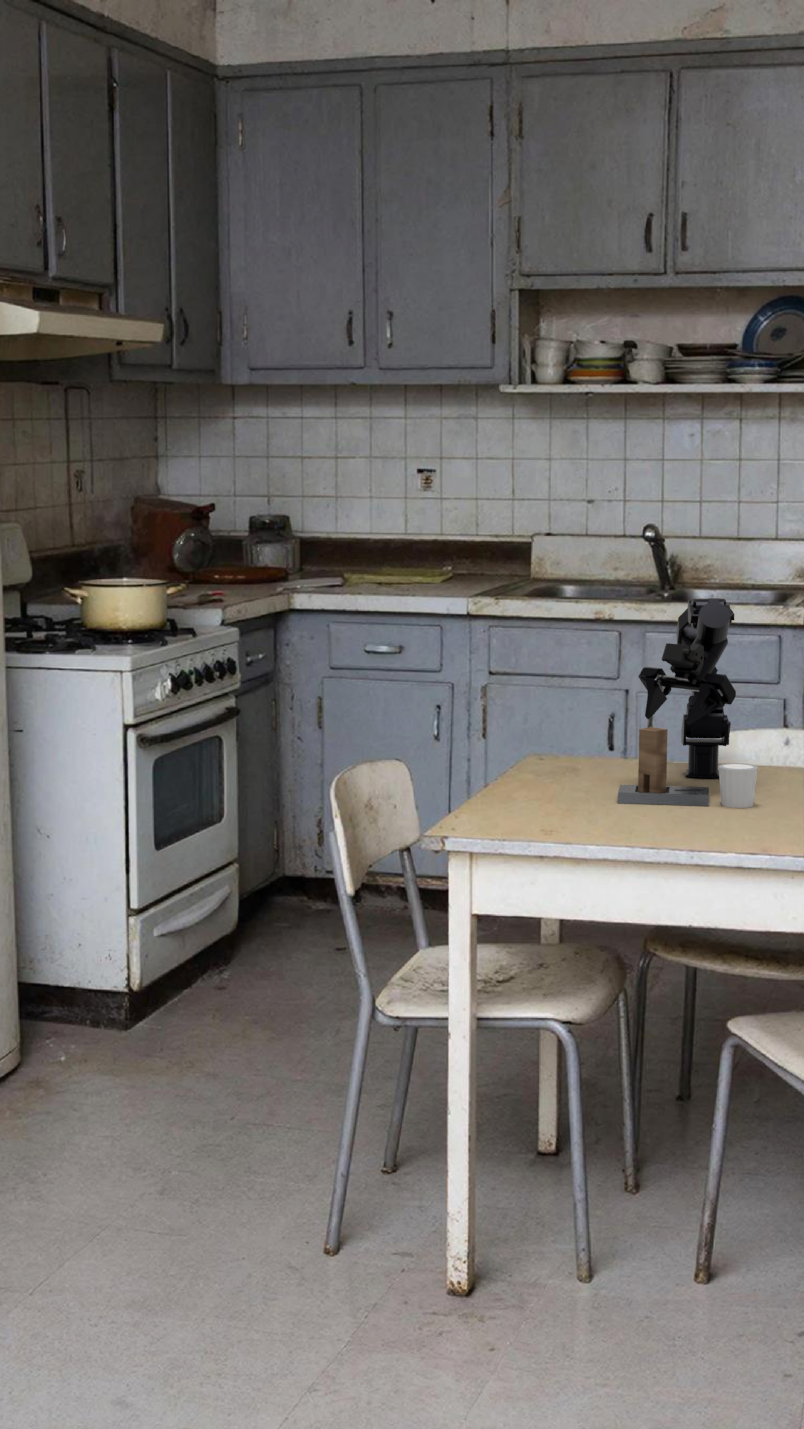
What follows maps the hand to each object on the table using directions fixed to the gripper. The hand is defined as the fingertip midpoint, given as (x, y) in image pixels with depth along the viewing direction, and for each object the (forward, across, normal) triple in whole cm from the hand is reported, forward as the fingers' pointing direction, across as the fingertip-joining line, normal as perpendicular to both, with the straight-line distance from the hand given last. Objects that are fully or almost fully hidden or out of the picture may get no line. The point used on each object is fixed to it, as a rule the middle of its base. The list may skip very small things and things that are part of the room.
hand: (666, 720), depth 308 cm
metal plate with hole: (+14, +4, +5) cm, 15 cm away
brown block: (+15, +2, +4) cm, 16 cm away
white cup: (+10, +16, +10) cm, 21 cm away
